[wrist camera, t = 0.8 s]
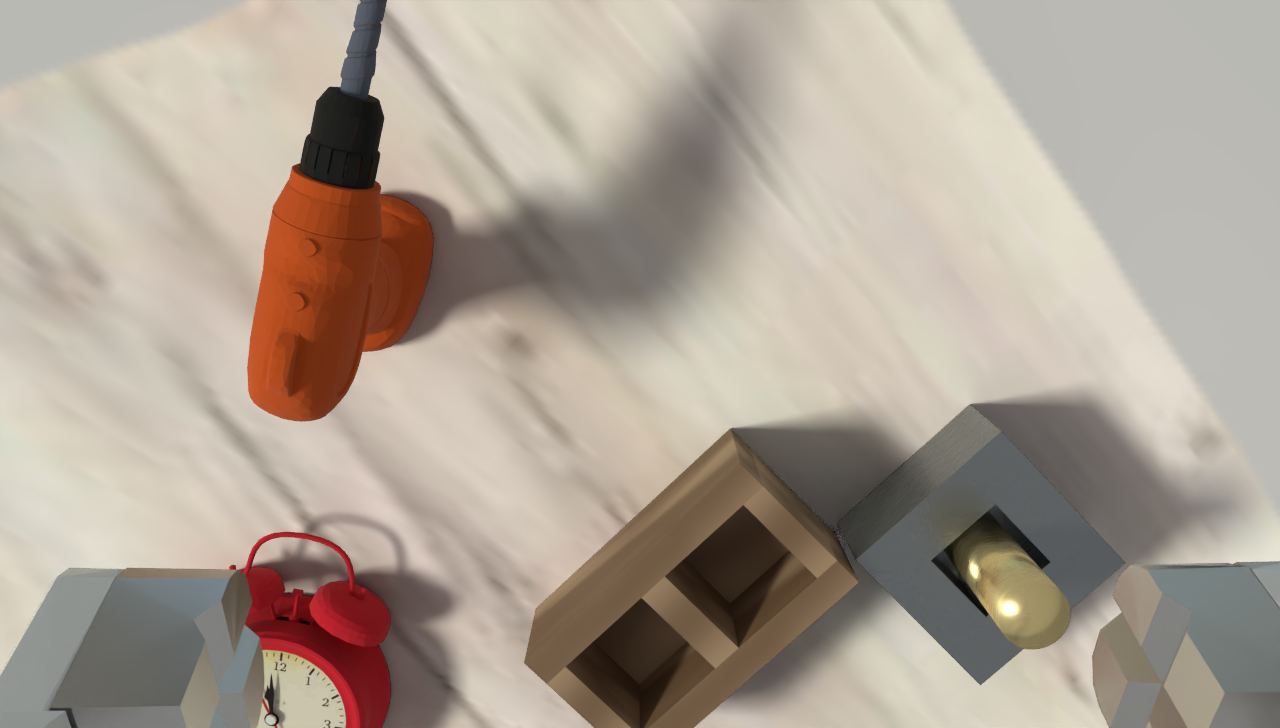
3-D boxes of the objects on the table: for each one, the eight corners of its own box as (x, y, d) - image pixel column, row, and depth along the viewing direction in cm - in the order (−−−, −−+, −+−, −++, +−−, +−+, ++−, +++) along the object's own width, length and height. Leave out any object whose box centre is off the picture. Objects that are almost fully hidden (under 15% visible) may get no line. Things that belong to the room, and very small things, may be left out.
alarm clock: (156, 812, 57) (155, 575, 51) (205, 725, 63) (209, 502, 56) (358, 845, 57) (382, 614, 51) (388, 755, 63) (413, 537, 57)
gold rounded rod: (1008, 531, 56) (1085, 616, 47) (963, 570, 57) (1030, 662, 47) (969, 491, 56) (1039, 568, 46) (924, 530, 56) (984, 615, 47)
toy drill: (502, -25, 50) (432, -26, 36) (412, 352, 56) (322, 478, 42) (397, -58, 50) (285, -71, 36) (318, 326, 56) (196, 443, 42)
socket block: (1084, 525, 57) (1125, 563, 53) (951, 638, 59) (980, 685, 54) (969, 404, 56) (1001, 430, 51) (837, 522, 57) (855, 559, 53)
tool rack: (836, 535, 58) (859, 582, 52) (642, 708, 60) (642, 772, 54) (730, 428, 56) (740, 463, 50) (535, 608, 58) (524, 663, 53)
